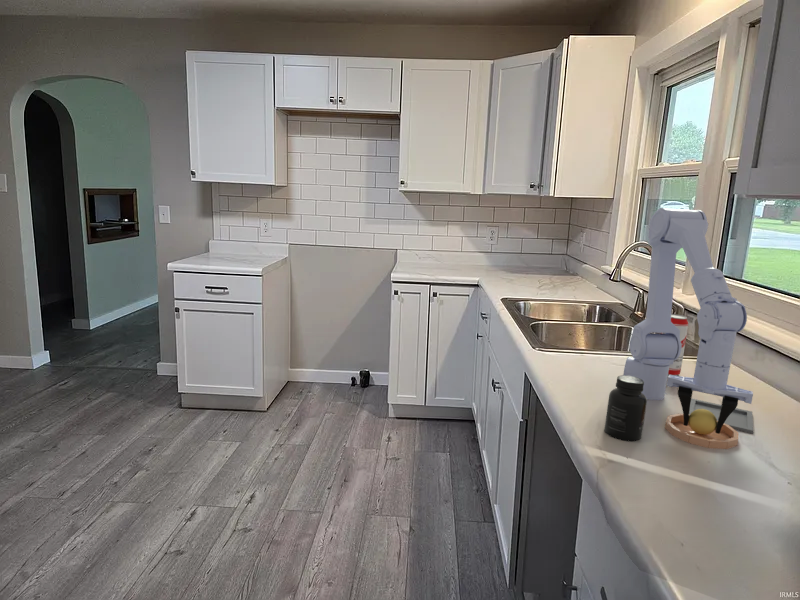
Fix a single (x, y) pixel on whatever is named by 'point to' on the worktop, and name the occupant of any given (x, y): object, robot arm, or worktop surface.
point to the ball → (702, 421)
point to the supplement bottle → (626, 409)
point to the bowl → (712, 440)
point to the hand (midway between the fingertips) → (701, 427)
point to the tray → (736, 419)
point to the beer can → (682, 325)
